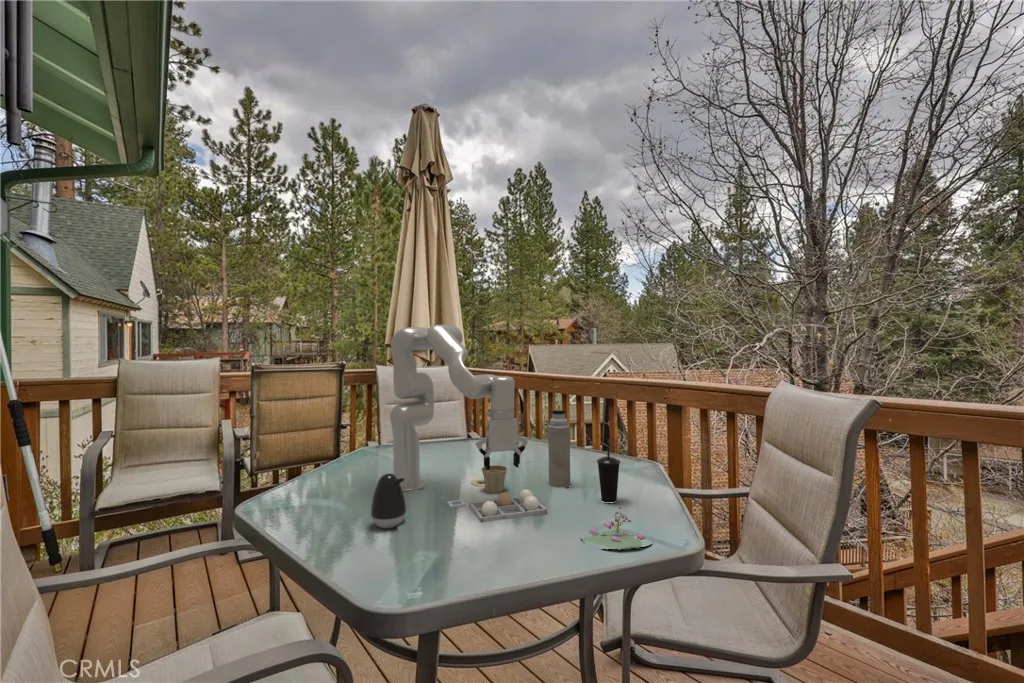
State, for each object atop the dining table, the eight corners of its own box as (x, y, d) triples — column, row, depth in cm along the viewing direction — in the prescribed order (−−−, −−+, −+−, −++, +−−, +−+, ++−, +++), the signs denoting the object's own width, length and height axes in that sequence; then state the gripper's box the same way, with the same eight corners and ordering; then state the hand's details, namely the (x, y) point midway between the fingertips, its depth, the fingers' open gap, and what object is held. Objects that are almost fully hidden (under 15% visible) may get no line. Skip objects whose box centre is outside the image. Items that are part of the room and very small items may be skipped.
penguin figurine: (394, 534, 133) (393, 480, 133) (363, 529, 136) (362, 476, 136) (413, 521, 142) (413, 470, 142) (384, 517, 146) (384, 468, 146)
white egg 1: (484, 520, 140) (483, 504, 140) (479, 515, 145) (479, 499, 145) (499, 518, 142) (499, 502, 142) (494, 513, 146) (494, 497, 146)
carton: (480, 525, 138) (480, 518, 138) (469, 509, 152) (469, 502, 152) (547, 515, 145) (547, 509, 145) (530, 501, 159) (530, 495, 159)
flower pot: (509, 488, 173) (508, 465, 173) (506, 497, 163) (506, 472, 163) (483, 488, 174) (483, 464, 174) (479, 496, 164) (479, 471, 164)
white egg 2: (519, 504, 151) (523, 489, 151) (514, 500, 155) (518, 486, 156) (533, 507, 152) (537, 492, 153) (527, 503, 157) (531, 488, 157)
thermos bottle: (555, 481, 181) (554, 408, 181) (574, 484, 177) (572, 409, 177) (545, 486, 174) (544, 411, 175) (564, 490, 170) (563, 412, 170)
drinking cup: (607, 506, 152) (606, 445, 152) (592, 500, 159) (592, 440, 159) (625, 502, 156) (624, 442, 156) (610, 496, 163) (609, 438, 163)
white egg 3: (526, 514, 144) (526, 499, 144) (521, 509, 149) (521, 494, 149) (541, 512, 146) (541, 497, 146) (535, 507, 151) (535, 492, 151)
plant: (570, 519, 144) (570, 489, 144) (637, 517, 145) (636, 487, 145) (586, 555, 119) (586, 519, 119) (667, 553, 120) (666, 517, 120)
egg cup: (448, 511, 150) (448, 507, 150) (445, 505, 156) (445, 500, 156) (468, 509, 152) (468, 504, 152) (464, 502, 158) (464, 498, 158)
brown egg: (500, 511, 148) (499, 495, 148) (495, 506, 153) (494, 491, 153) (514, 508, 150) (513, 493, 150) (509, 503, 154) (508, 489, 154)
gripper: (479, 417, 146) (478, 473, 146) (531, 415, 151) (531, 468, 151) (473, 413, 153) (473, 466, 153) (523, 411, 158) (523, 462, 158)
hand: (501, 467), depth 152 cm, fingers open, 9 cm apart
